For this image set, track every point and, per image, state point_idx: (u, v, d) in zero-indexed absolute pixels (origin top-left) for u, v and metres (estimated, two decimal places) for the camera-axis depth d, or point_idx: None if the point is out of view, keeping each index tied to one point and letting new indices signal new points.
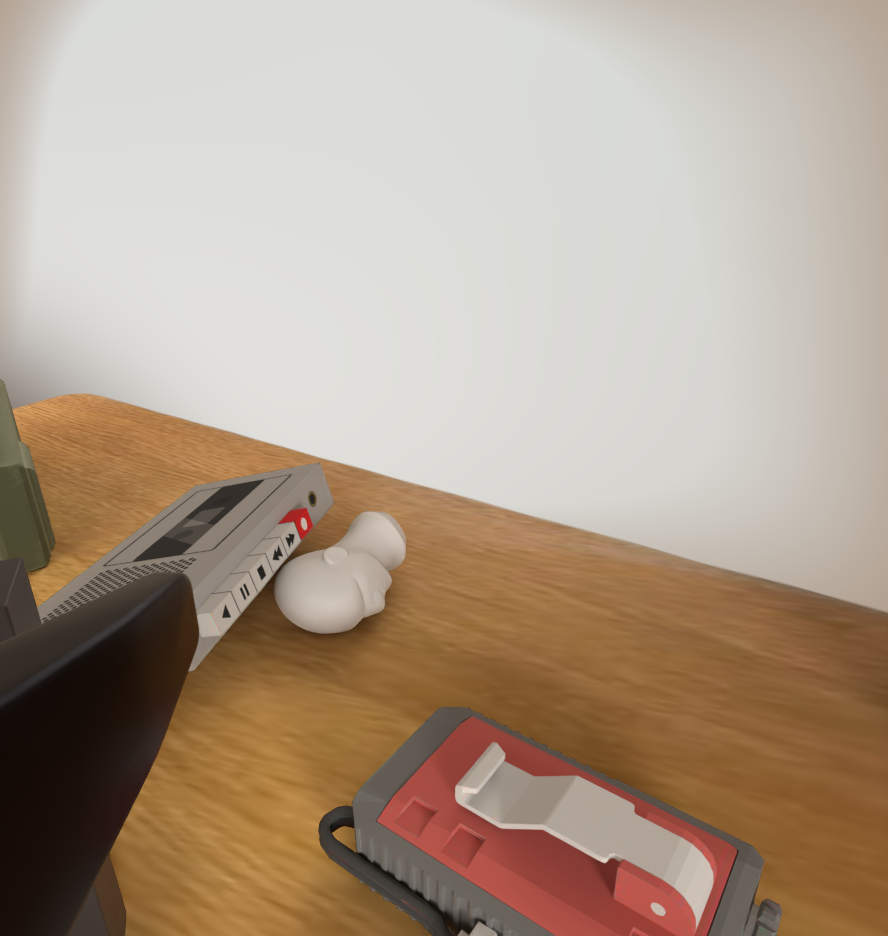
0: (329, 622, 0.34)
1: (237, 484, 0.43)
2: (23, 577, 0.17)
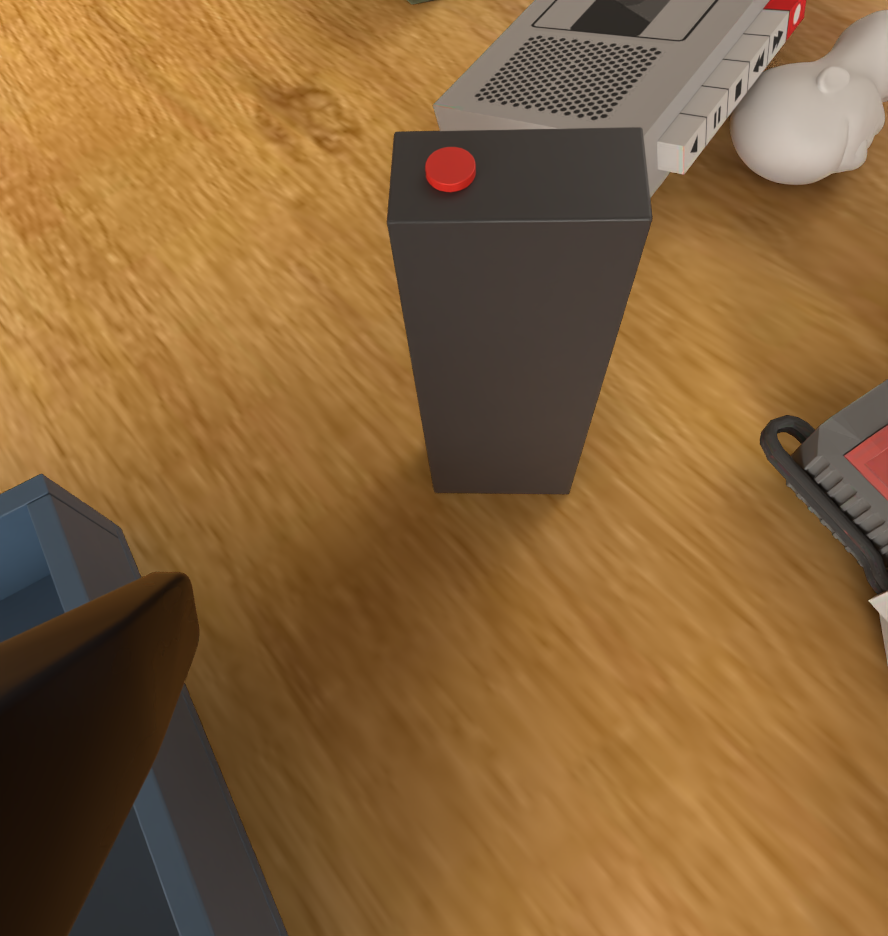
0: (792, 173, 0.27)
1: None
2: None
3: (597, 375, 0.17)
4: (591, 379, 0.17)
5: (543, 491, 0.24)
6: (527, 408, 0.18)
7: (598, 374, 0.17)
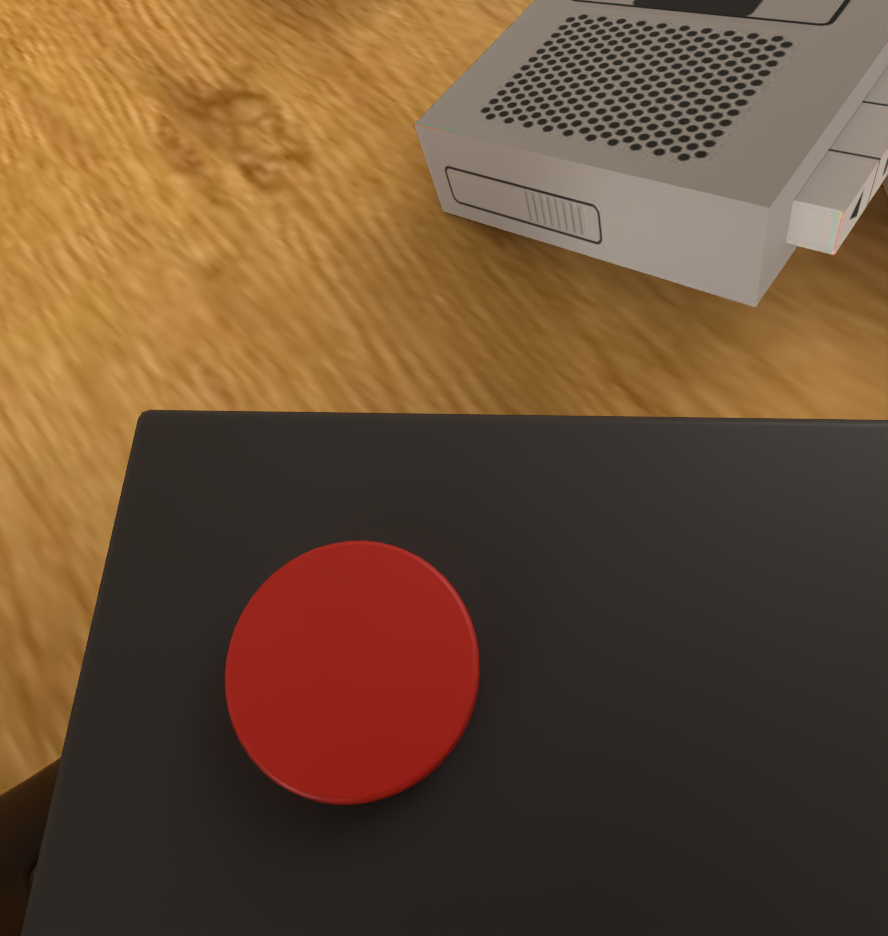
0: None
1: None
2: None
3: None
4: None
5: None
6: None
7: None
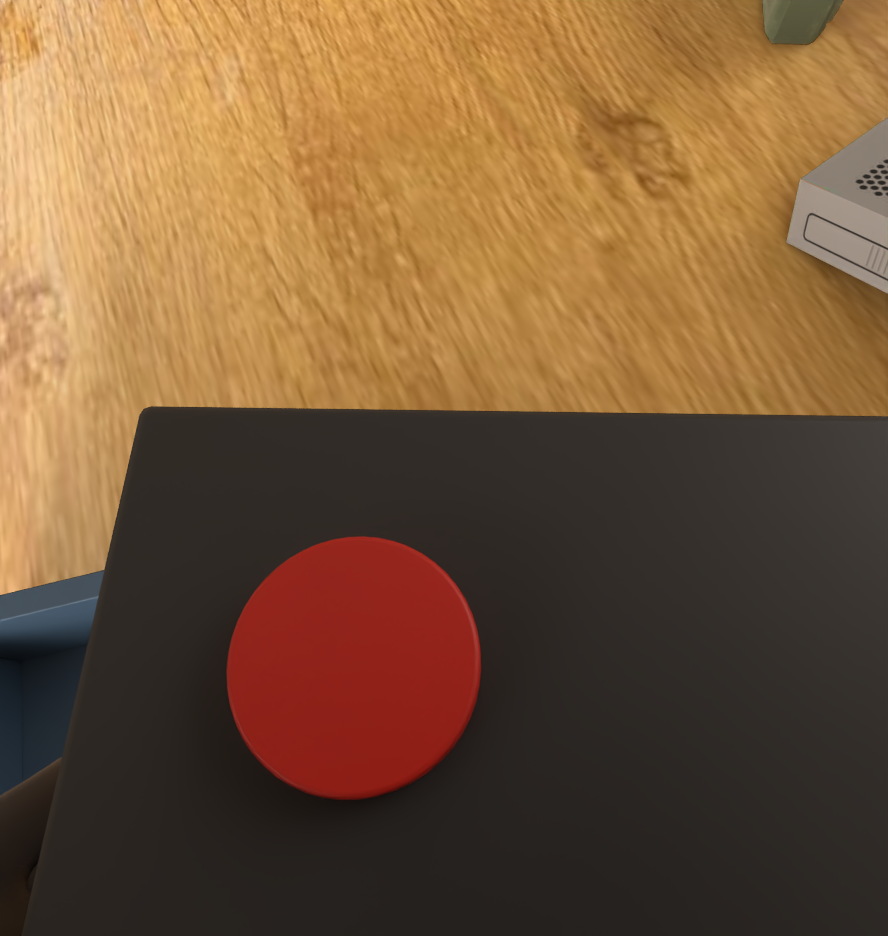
0: None
1: None
2: None
3: None
4: None
5: None
6: None
7: None
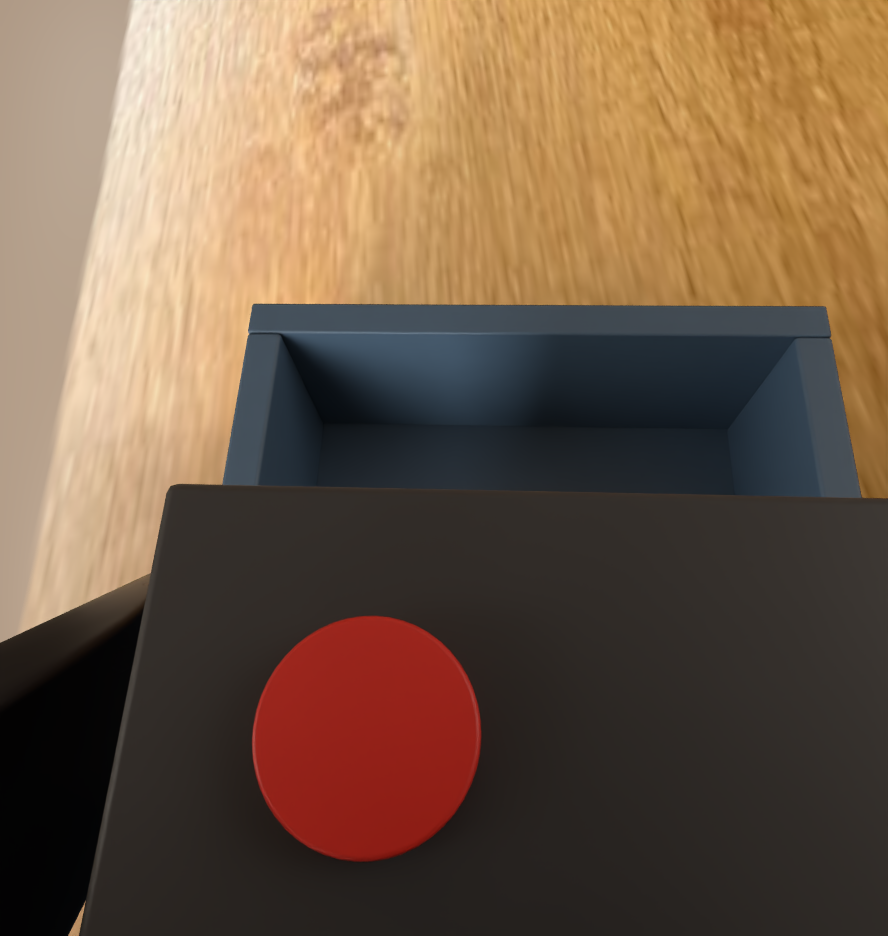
0: None
1: None
2: None
3: None
4: None
5: None
6: None
7: None
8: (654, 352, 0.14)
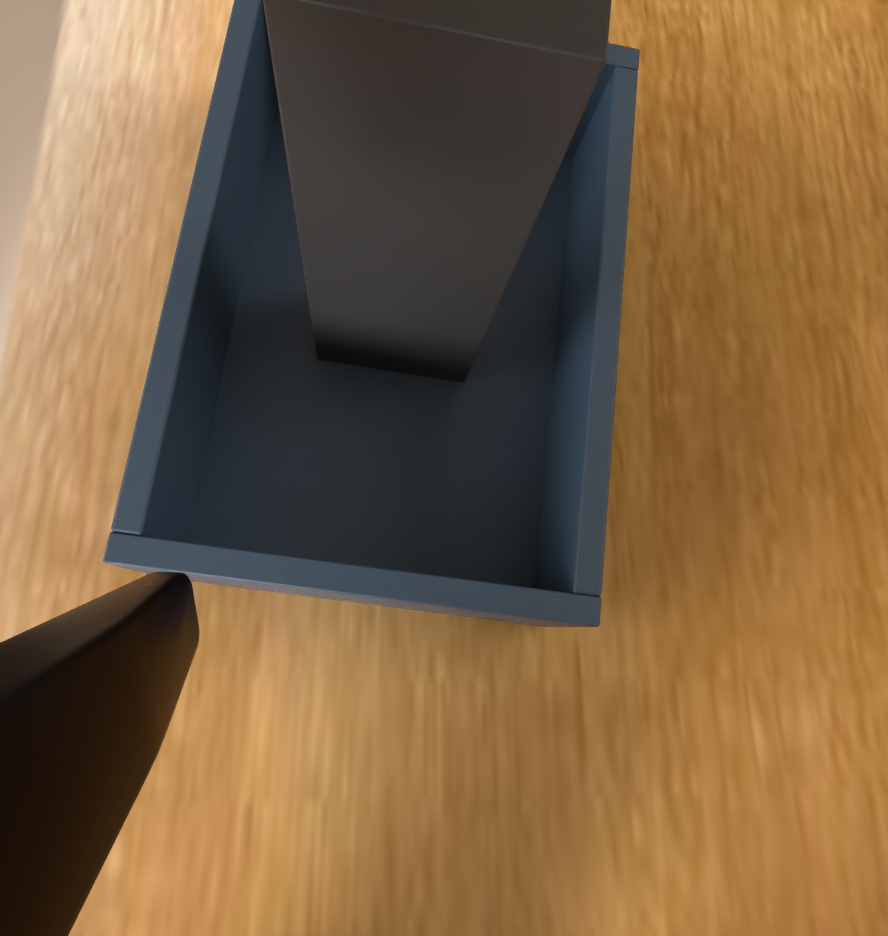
0: None
1: None
2: None
3: (511, 254, 0.14)
4: (503, 258, 0.15)
5: (437, 375, 0.22)
6: (427, 280, 0.16)
7: (512, 253, 0.14)
8: None
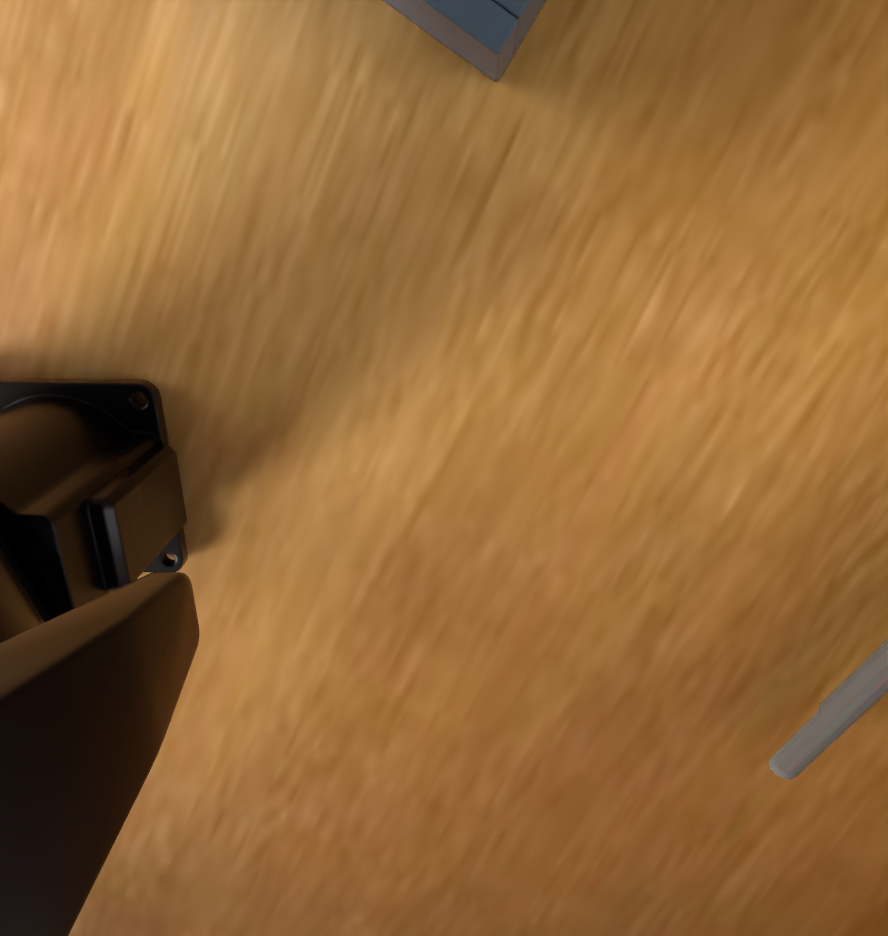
0: None
1: None
2: None
3: None
4: None
5: None
6: None
7: None
8: None
